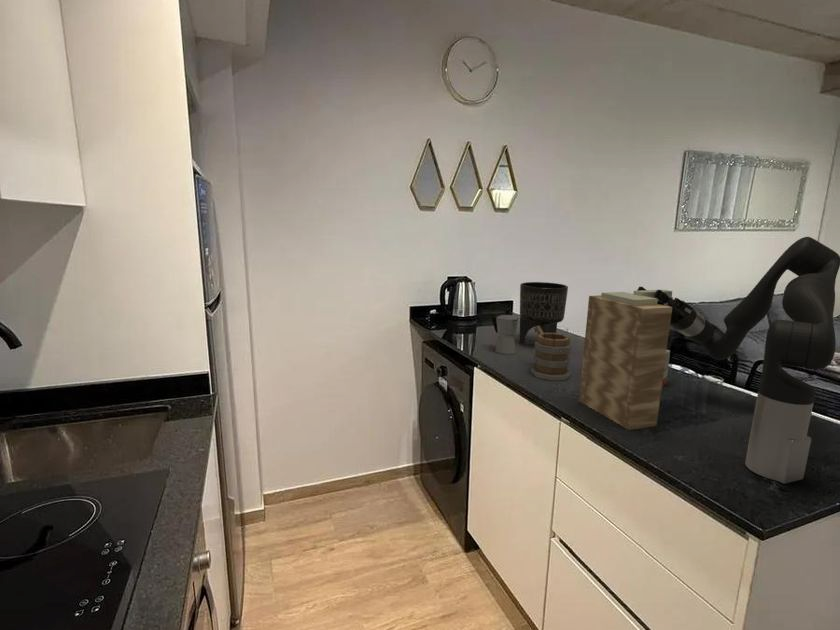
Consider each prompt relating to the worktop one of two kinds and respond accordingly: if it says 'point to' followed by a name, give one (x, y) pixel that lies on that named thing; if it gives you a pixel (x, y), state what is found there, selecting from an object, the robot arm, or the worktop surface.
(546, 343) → the tankard
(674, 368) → the worktop surface
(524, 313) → the planter
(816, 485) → the worktop surface
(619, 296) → the sage mallet
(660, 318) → the wooden crate
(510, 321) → the coffee maker
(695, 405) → the worktop surface
